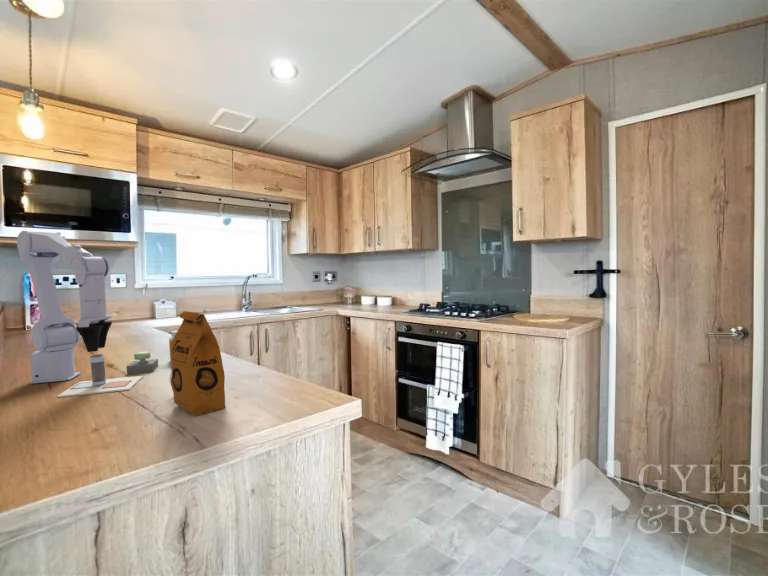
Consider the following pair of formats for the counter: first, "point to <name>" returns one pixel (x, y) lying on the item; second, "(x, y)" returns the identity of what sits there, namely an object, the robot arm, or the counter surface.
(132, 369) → the button housing
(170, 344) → the supplement bottle
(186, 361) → the coffee package
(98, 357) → the grey cylinder
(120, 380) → the white sorting board
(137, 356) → the button
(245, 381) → the counter surface
